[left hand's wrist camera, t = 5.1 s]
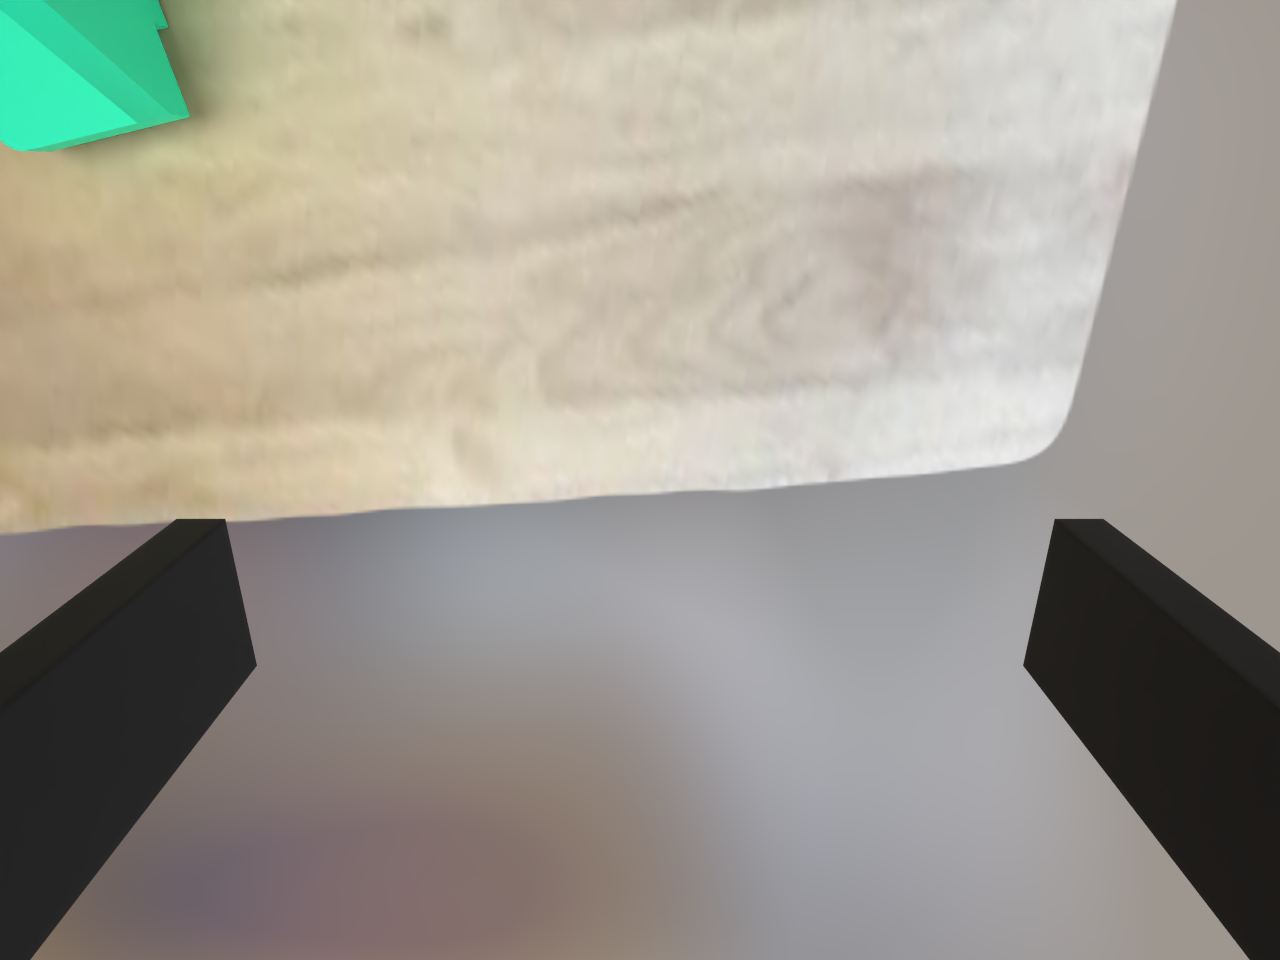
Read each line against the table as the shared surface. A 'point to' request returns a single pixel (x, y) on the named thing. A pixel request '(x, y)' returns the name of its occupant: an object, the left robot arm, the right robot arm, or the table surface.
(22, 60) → the camera mount
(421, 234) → the table surface
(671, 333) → the table surface
